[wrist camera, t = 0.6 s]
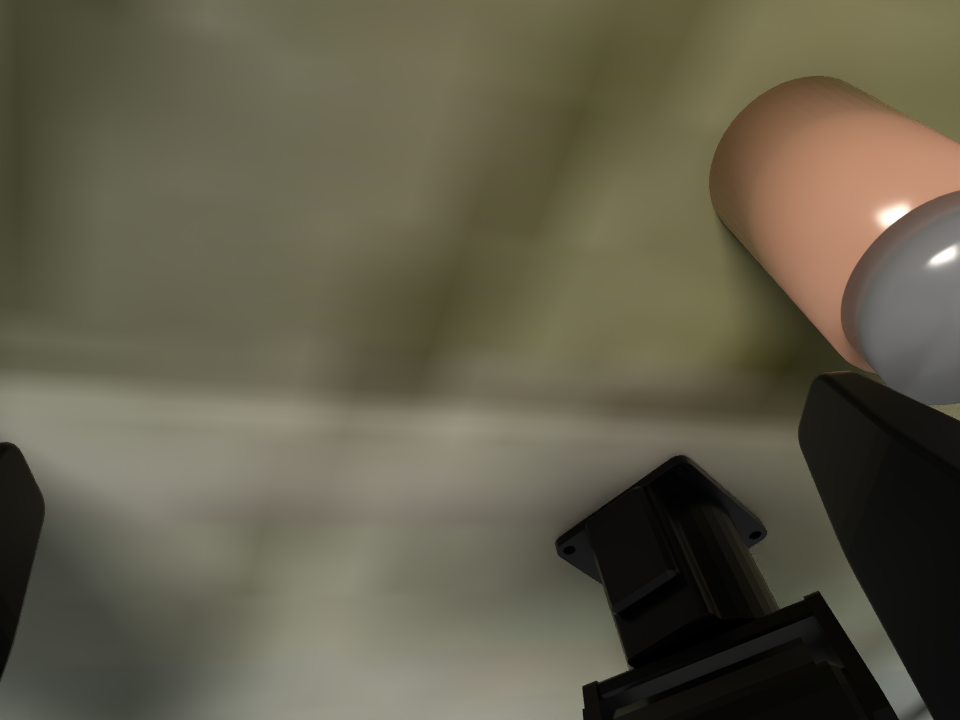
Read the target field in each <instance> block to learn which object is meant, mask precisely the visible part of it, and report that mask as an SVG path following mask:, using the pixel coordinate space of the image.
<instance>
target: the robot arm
mask: <svg viewBox="0 0 960 720" xmlns="http://www.w3.org/2000/svg"><path fill="white" fill-rule="evenodd" d="M798 439H799V444H800V448H801V450H802V453H803V455H804V458H805V460H806V463H807V465H808V468H809V470H810V472H811V475H812V477H813V480H814V482H815V485H816V487H817V490H818V492H819V494H820V497H821V499H822V502H823V504H824V507H825V509H826V512H827V514H828V517H829V519H830V521H831V524H832V526H833V529H834V531H835V534H836V536H837V539H838V541H839V543H840V545H841V547H842V550H843V552H844V554H845V556H846V558H847V560H848V562H849V564H850V566H851V568H852V570H853V572H854V574H855V576H856V578H857V580H858V581H859V583H860V585H861V587H862V589H863V591H864V593H865V594H866V596H867V598H868V600H869V602H870V604H871V605H872V607H873V609H874V611H875V613H876V615H877V616H878V618H879V620H880V622H881V624H882V626H883V627H884V629H885V631H886V633H887V635H888V637H889V639H890V640H891V642H892V644H893V646H894V648H895V650H896V651H897V653H898V655H899V657H900V659H901V661H902V662H903V664H904V666H905V668H906V670H907V672H908V674H909V675H910V677H911V679H912V681H913V683H914V685H915V686H916V688H917V690H918V692H919V694H920V696H921V697H922V699H923V701H924V703H925V705H926V707H927V708H928V710H929V712H930V714H931V716H932V718H933V720H960V421H959V420H957V419H955V418H953V417H951V416H948V415H946V414H944V413H942V412H940V411H938V410H936V409H933V408H931V407H929V406H927V405H925V404H923V403H921V402H919V401H916V400H914V399H912V398H910V397H908V396H906V395H904V394H902V393H899V392H897V391H895V390H893V389H891V388H889V387H887V386H884V385H882V384H880V383H878V382H876V381H874V380H872V379H870V378H867V377H865V376H863V375H861V374H859V373H857V372H854V371H838V372H826V373H821V374H819V375H817V376H816V377H815V378H814V379H813V380H812V383H811V385H810V389H809V392H808V396H807V399H806V403H805V406H804V410H803V413H802V417H801V420H800V424H799V429H798ZM679 468H681V469H679ZM677 469H679V470H677ZM44 515H45V504H44V499H43V496H42V493H41V491H40V489H39V487H38V485H37V483H36V481H35V479H34V477H33V475H32V473H31V471H30V468H29V466H28V464H27V462H26V460H25V458H24V456H23V454H22V452H21V451H20V449H19V448H18V447H17V446H16V445H14V444H12V443H9V442H1V443H0V681H1V679H2V676H3V673H4V670H5V668H6V665H7V662H8V659H9V656H10V653H11V650H12V647H13V644H14V640H15V636H16V633H17V629H18V626H19V622H20V617H21V613H22V609H23V605H24V601H25V596H26V592H27V588H28V584H29V580H30V576H31V571H32V567H33V563H34V559H35V555H36V550H37V546H38V542H39V538H40V534H41V529H42V525H43V521H44ZM766 535H767V530H766V528H765V527H764V525H763V523H762V521H760V520H759V519H758V518H757V517H756V516H755V515H754V514H752V513H751V512H750V511H749V510H748V509H747V508H746V507H744V506H743V505H742V504H741V503H740V502H739V501H738V500H736V499H735V498H734V497H733V496H732V495H731V494H730V493H728V492H727V491H726V490H725V489H724V488H723V487H721V486H720V485H719V484H718V483H717V482H716V481H715V480H713V479H712V478H711V477H710V476H709V475H708V474H707V473H705V472H704V471H703V470H702V469H701V468H700V467H699V466H697V465H696V464H695V463H694V462H693V461H692V460H691V459H689V458H688V457H686V456H682V455H679V456H675V457H673V458H671V459H669V460H668V461H667V462H665V463H664V464H662V465H661V466H660V467H658V468H657V469H655V470H654V471H652V472H651V473H650V474H648V475H647V476H645V477H644V478H643V479H641V480H640V481H638V482H637V483H635V484H634V485H633V486H631V487H630V488H628V489H627V490H626V491H624V492H623V493H621V494H620V495H618V496H617V497H616V498H614V499H613V500H611V501H610V502H609V503H607V504H606V505H604V506H603V507H601V508H600V509H599V510H597V511H596V512H594V513H593V514H592V515H590V516H589V517H587V518H586V519H584V520H583V521H582V522H580V523H579V524H577V525H576V526H575V527H573V528H572V529H570V530H569V531H568V532H566V533H565V534H563V535H562V536H560V537H559V538H558V539H557V540H556V543H555V546H556V550H557V554H558V555H559V556H560V557H561V558H563V559H564V560H566V561H567V562H569V563H570V564H572V565H573V566H575V567H576V568H578V569H579V570H581V571H582V572H584V573H586V574H587V575H589V576H590V577H592V578H593V579H595V580H596V581H598V582H599V583H601V584H602V585H603V588H604V591H605V594H606V597H607V601H608V604H609V607H610V610H611V613H612V616H613V619H614V622H615V625H616V629H617V632H618V635H619V638H620V641H621V645H622V648H623V651H624V654H625V658H626V661H627V664H628V667H629V671H626V672H624V673H621V674H619V675H616V676H614V677H611V678H609V679H606V680H604V681H601V682H598V681H594V682H592V683H589V684H587V685H584V686H582V689H583V698H584V707H585V709H583V720H899V719H898V717H897V715H896V714H895V712H894V710H893V708H892V707H891V705H890V703H889V701H888V700H887V698H886V696H885V695H884V693H883V691H882V690H881V688H880V686H879V685H878V683H877V682H876V680H875V678H874V677H873V675H872V674H871V672H870V671H869V669H868V667H867V666H866V664H865V663H864V661H863V660H862V658H861V656H860V655H859V653H858V652H857V650H856V649H855V647H854V645H853V644H852V642H851V641H850V639H849V638H848V636H847V634H846V633H845V631H844V630H843V628H842V627H841V625H840V624H839V622H838V620H837V619H836V617H835V616H834V614H833V613H832V611H831V609H830V608H829V606H828V605H827V603H826V602H825V600H824V598H823V597H822V595H821V594H820V592H819V591H816V592H814V593H811V594H809V595H807V596H804V597H803V598H804V600H802V601H799V602H797V603H794V604H792V605H790V606H787V607H785V608H782V609H779V607H778V605H777V603H776V601H775V599H774V597H773V595H772V593H771V592H770V590H769V588H768V586H767V584H766V582H765V580H764V578H763V576H762V574H761V572H760V571H759V569H758V567H757V565H756V563H755V561H754V559H753V557H752V555H751V553H750V552H749V550H748V549H749V548H750V547H752V546H753V545H755V544H756V543H758V542H760V541H761V540H762V539H764V538H765V536H766Z"/></svg>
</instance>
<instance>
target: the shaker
mask: <svg viewBox="0 0 960 720" xmlns="http://www.w3.org/2000/svg"><path fill="white" fill-rule="evenodd" d="M709 188H710V196H711V200H712V203H713V206H714V209H715V211H716V213H717V215H718V216H719V218H720V219H721V220H722V222H723V223H724V224H725V225H726V226H727V227H728V229H729V230H730V231H731V232H732V233H733V234H734V235H735V236H736V238H737V239H738V240H739V241H740V242H741V243H742V244H743V246H744V247H745V248H746V249H747V250H748V251H749V252H750V253H751V255H752V256H753V257H754V258H755V259H756V260H757V261H758V262H759V264H760V265H761V266H762V267H763V268H764V269H765V270H766V271H767V273H768V274H769V275H770V276H771V277H772V278H773V279H774V280H775V282H776V283H777V284H778V285H779V286H780V287H781V288H782V289H783V291H784V292H785V293H786V294H787V295H788V296H789V297H790V298H791V300H792V301H793V302H794V303H795V304H796V305H797V306H798V307H799V309H800V310H801V311H802V312H803V313H804V314H805V315H806V316H807V318H808V319H809V320H810V321H811V322H812V323H813V324H814V326H815V327H816V328H817V329H818V330H819V331H820V332H821V333H822V335H823V336H824V337H825V338H826V339H827V340H828V341H829V342H830V344H831V345H832V346H833V347H834V348H835V349H836V350H837V351H838V353H839V354H840V355H841V356H842V357H843V358H844V359H845V360H846V361H848V362H849V363H851V364H852V365H854V366H855V367H858V368H860V369H862V370H864V371H868V372H871V373H875V374H878V375H879V376H880V377H881V379H882V380H883V381H884V382H885V383H886V384H887V385H888V386H889V387H890V388H891V389H893V390H895V391H897V392H899V393H902V394H904V395H906V396H908V397H910V398H912V399H914V400H916V401H919V402H921V403H923V404H928V405H947V404H956V403H960V144H959V143H957V142H955V141H953V140H951V139H950V138H948V137H946V136H944V135H942V134H940V133H939V132H937V131H935V130H933V129H931V128H929V127H928V126H926V125H924V124H922V123H920V122H918V121H917V120H915V119H913V118H911V117H909V116H908V115H906V114H904V113H902V112H900V111H898V110H897V109H895V108H893V107H891V106H889V105H887V104H886V103H884V102H882V101H880V100H878V99H876V98H875V97H873V96H871V95H869V94H867V93H865V92H864V91H862V90H860V89H858V88H856V87H854V86H853V85H851V84H849V83H847V82H844V81H842V80H839V79H836V78H831V77H824V76H812V77H803V78H799V79H794V80H791V81H788V82H785V83H782V84H780V85H778V86H776V87H774V88H772V89H770V90H769V91H767V92H765V93H764V94H762V95H760V96H759V97H758V98H756V99H755V100H754V101H753V102H751V103H750V104H749V105H748V106H747V107H746V108H745V109H744V110H743V111H742V112H741V113H740V114H739V115H738V116H737V117H736V118H735V119H734V121H733V122H732V123H731V125H730V126H729V127H728V129H727V130H726V132H725V133H724V135H723V137H722V139H721V141H720V142H719V144H718V147H717V149H716V152H715V154H714V157H713V161H712V165H711V170H710V180H709Z"/></svg>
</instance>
